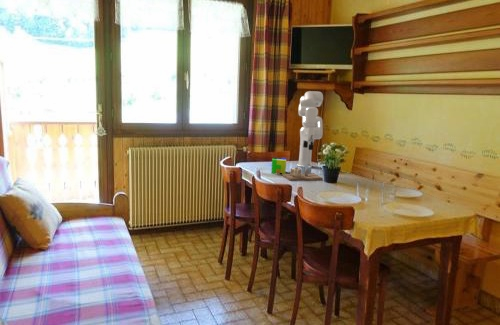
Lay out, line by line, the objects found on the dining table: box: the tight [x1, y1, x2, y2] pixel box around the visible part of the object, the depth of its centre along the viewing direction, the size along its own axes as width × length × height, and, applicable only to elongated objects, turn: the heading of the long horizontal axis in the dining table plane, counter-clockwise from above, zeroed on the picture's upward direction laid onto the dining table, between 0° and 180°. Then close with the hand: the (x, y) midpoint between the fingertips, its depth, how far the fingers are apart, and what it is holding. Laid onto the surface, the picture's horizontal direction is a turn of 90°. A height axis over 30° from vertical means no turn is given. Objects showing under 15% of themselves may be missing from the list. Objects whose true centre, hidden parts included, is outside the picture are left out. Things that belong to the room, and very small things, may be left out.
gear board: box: [281, 166, 323, 182], centre depth 271 cm, size 14×24×8 cm, turn 105°
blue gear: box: [301, 166, 312, 173], centre depth 287 cm, size 7×7×5 cm
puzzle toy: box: [271, 156, 287, 175], centre depth 285 cm, size 10×10×10 cm
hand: (307, 148), depth 284 cm, fingers open, 9 cm apart
